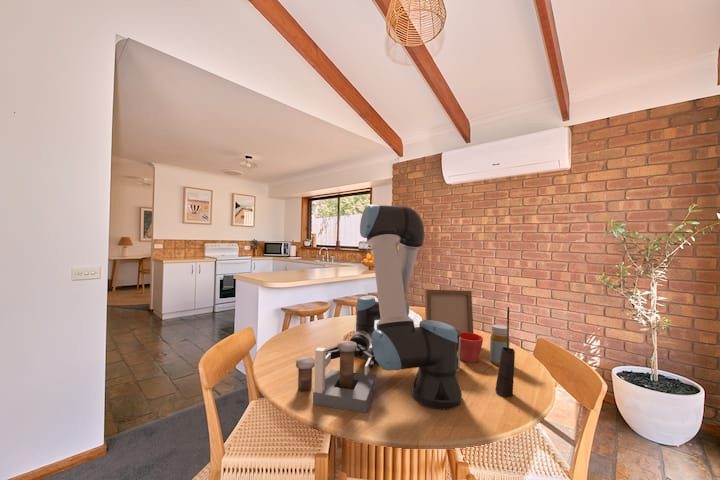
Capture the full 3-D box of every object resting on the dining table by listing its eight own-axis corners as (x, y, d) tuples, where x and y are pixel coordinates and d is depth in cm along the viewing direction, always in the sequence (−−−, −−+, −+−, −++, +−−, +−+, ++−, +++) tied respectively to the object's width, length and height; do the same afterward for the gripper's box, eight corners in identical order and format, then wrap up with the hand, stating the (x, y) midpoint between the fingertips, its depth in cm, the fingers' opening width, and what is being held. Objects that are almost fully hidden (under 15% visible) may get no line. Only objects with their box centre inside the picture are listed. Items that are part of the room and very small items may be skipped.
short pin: (317, 389, 97) (318, 361, 96) (301, 395, 92) (302, 366, 92) (307, 382, 101) (308, 355, 101) (292, 387, 97) (292, 360, 97)
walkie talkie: (521, 406, 89) (523, 313, 89) (487, 396, 94) (489, 309, 94) (523, 393, 97) (525, 308, 97) (491, 385, 102) (494, 304, 102)
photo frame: (473, 346, 140) (475, 293, 139) (427, 344, 140) (428, 291, 140) (464, 335, 155) (465, 287, 154) (422, 334, 155) (423, 286, 155)
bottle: (489, 364, 119) (490, 327, 119) (490, 358, 125) (491, 323, 125) (508, 368, 116) (509, 330, 116) (508, 361, 122) (509, 325, 122)
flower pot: (488, 362, 121) (489, 338, 121) (467, 366, 117) (467, 341, 117) (470, 352, 131) (470, 330, 131) (449, 355, 127) (450, 333, 127)
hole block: (375, 385, 100) (376, 338, 99) (365, 412, 84) (367, 356, 84) (330, 379, 103) (331, 333, 103) (312, 404, 88) (314, 350, 87)
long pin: (359, 395, 93) (360, 344, 93) (344, 401, 89) (345, 349, 89) (347, 387, 98) (348, 339, 98) (332, 393, 94) (333, 343, 94)
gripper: (392, 357, 108) (384, 385, 88) (327, 350, 114) (305, 374, 93) (393, 337, 108) (384, 360, 88) (328, 330, 114) (306, 351, 93)
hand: (344, 368), depth 90 cm, fingers open, 13 cm apart
